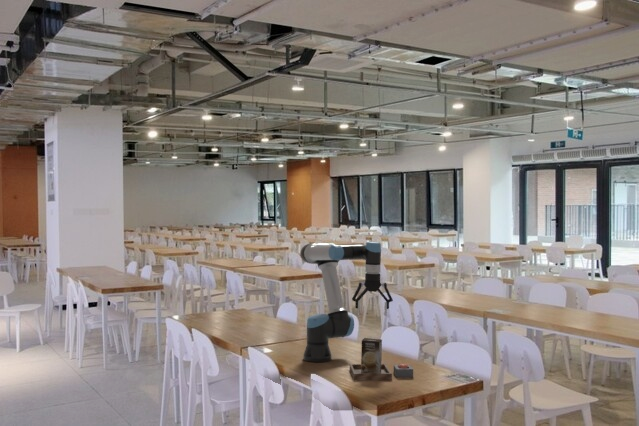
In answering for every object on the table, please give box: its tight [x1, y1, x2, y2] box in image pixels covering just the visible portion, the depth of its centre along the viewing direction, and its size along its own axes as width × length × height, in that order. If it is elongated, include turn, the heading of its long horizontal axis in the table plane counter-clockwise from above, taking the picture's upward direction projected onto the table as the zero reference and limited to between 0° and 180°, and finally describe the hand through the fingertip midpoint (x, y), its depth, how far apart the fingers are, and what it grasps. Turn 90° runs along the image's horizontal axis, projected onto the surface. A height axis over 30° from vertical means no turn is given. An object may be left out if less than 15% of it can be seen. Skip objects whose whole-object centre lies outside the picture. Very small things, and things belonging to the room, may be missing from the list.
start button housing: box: [393, 364, 414, 379], centre depth 285 cm, size 8×8×4 cm
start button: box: [398, 363, 409, 368], centre depth 285 cm, size 4×4×3 cm
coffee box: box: [360, 337, 383, 373], centre depth 286 cm, size 9×6×16 cm
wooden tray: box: [349, 363, 393, 381], centre depth 286 cm, size 18×18×3 cm
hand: (371, 315), depth 295 cm, fingers open, 13 cm apart
